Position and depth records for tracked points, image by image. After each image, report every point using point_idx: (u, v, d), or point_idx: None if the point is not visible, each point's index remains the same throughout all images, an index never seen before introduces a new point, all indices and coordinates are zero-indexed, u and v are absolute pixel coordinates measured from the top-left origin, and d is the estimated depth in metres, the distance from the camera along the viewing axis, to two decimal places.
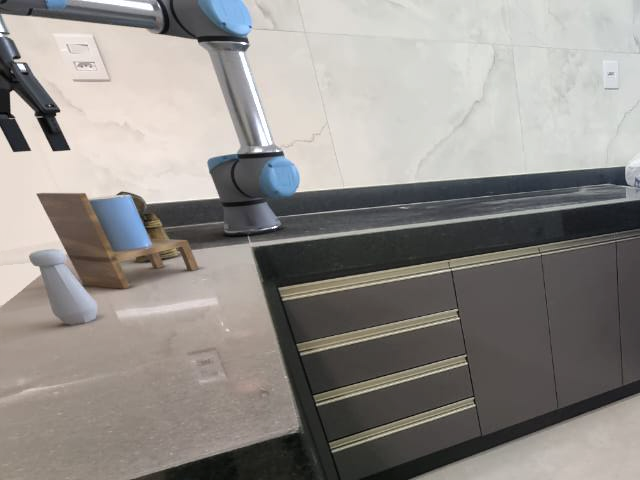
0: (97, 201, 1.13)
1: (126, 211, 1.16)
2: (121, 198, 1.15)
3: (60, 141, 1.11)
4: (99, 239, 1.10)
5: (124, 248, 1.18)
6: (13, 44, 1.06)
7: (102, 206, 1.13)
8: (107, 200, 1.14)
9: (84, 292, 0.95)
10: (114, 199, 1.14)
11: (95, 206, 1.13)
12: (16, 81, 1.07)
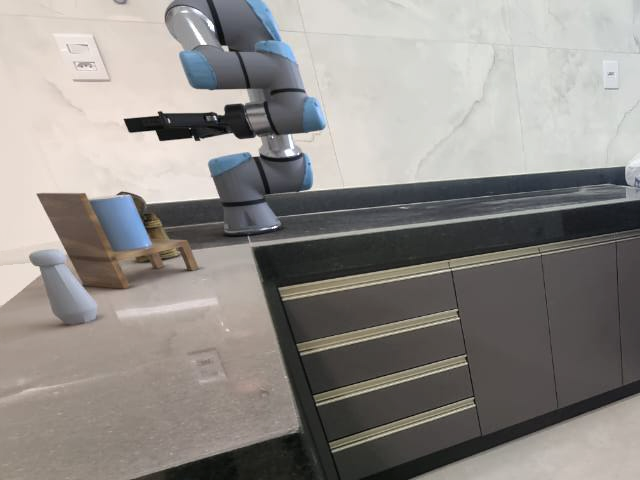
0: (97, 201, 1.13)
1: (126, 211, 1.16)
2: (121, 198, 1.15)
3: None
4: (99, 239, 1.10)
5: (124, 248, 1.18)
6: None
7: (102, 206, 1.13)
8: (107, 200, 1.14)
9: (84, 292, 0.95)
10: (114, 199, 1.14)
11: (95, 206, 1.13)
12: None
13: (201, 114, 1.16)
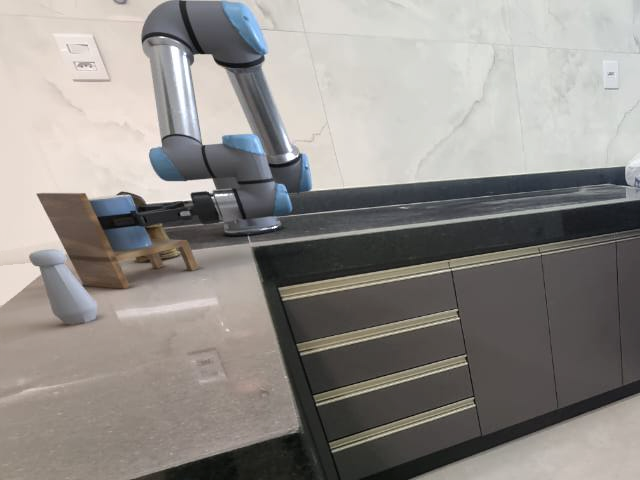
0: (97, 201, 1.13)
1: (126, 211, 1.16)
2: (121, 198, 1.15)
3: None
4: (99, 239, 1.10)
5: (124, 248, 1.18)
6: None
7: (102, 206, 1.13)
8: (107, 200, 1.14)
9: (84, 292, 0.95)
10: (114, 199, 1.14)
11: (95, 206, 1.13)
12: None
13: (175, 210, 1.18)
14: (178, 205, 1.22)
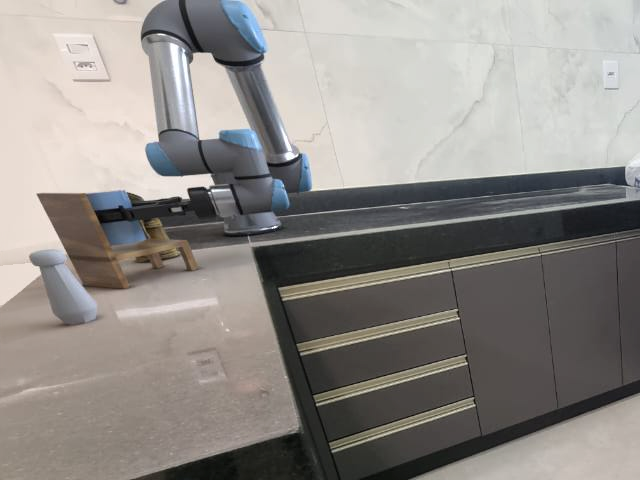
0: (91, 195, 1.12)
1: None
2: (116, 192, 1.15)
3: None
4: (99, 239, 1.10)
5: (118, 242, 1.17)
6: None
7: (96, 200, 1.13)
8: (101, 194, 1.13)
9: (84, 292, 0.95)
10: (108, 193, 1.14)
11: (89, 200, 1.12)
12: None
13: (166, 206, 1.18)
14: (173, 200, 1.21)
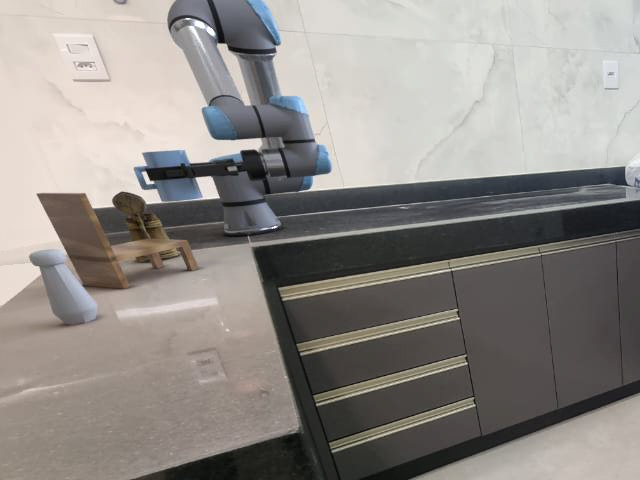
0: (156, 153, 1.21)
1: None
2: (177, 151, 1.24)
3: None
4: (99, 239, 1.10)
5: (179, 198, 1.25)
6: None
7: (161, 158, 1.22)
8: (165, 152, 1.22)
9: (84, 292, 0.95)
10: (171, 151, 1.23)
11: (154, 158, 1.21)
12: None
13: (223, 165, 1.26)
14: (228, 161, 1.30)
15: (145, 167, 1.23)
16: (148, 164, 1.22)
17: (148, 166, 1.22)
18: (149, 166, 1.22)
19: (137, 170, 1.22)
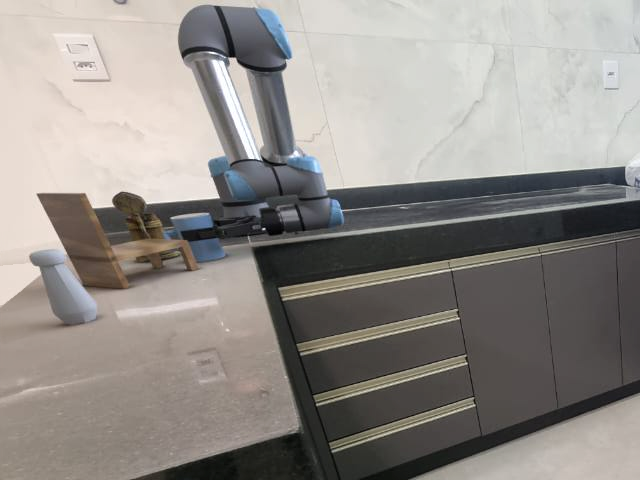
0: (184, 219, 1.30)
1: (207, 227, 1.34)
2: (203, 216, 1.33)
3: None
4: (99, 239, 1.10)
5: (205, 259, 1.35)
6: None
7: (188, 224, 1.31)
8: (192, 218, 1.31)
9: (84, 292, 0.95)
10: (198, 217, 1.32)
11: (182, 224, 1.31)
12: None
13: (249, 224, 1.36)
14: (249, 219, 1.40)
15: (173, 231, 1.32)
16: (176, 229, 1.32)
17: (176, 230, 1.32)
18: (177, 231, 1.32)
19: (166, 234, 1.32)
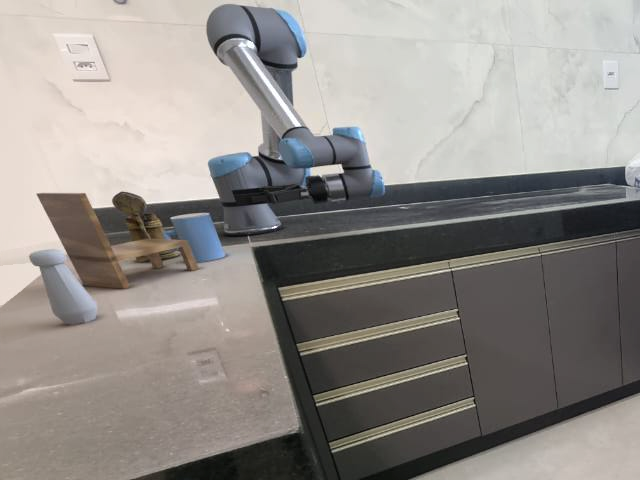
0: (184, 219, 1.30)
1: (207, 227, 1.34)
2: (203, 216, 1.33)
3: None
4: (99, 239, 1.10)
5: (205, 259, 1.35)
6: None
7: (188, 224, 1.31)
8: (192, 218, 1.31)
9: (84, 292, 0.95)
10: (198, 217, 1.32)
11: (182, 224, 1.31)
12: None
13: (298, 191, 1.40)
14: (297, 187, 1.44)
15: (173, 231, 1.32)
16: (176, 229, 1.32)
17: (176, 230, 1.32)
18: (177, 231, 1.32)
19: (166, 234, 1.32)
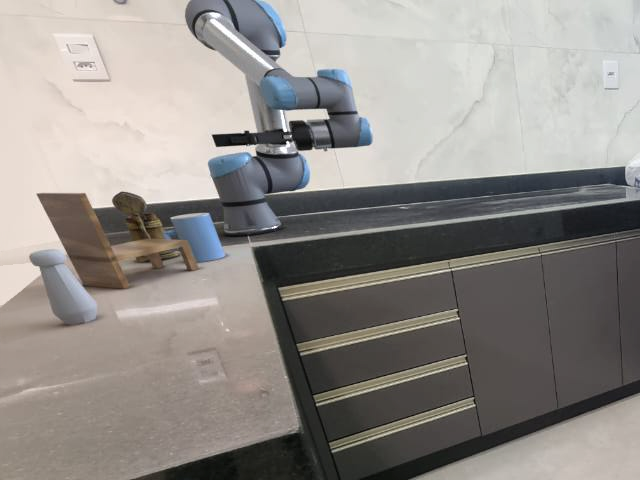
0: (184, 219, 1.30)
1: (207, 227, 1.34)
2: (203, 216, 1.33)
3: None
4: (99, 239, 1.10)
5: (205, 259, 1.35)
6: None
7: (188, 224, 1.31)
8: (192, 218, 1.31)
9: (84, 292, 0.95)
10: (198, 217, 1.32)
11: (182, 224, 1.31)
12: None
13: (280, 133, 1.34)
14: (280, 130, 1.37)
15: (173, 231, 1.32)
16: (176, 229, 1.32)
17: (176, 230, 1.32)
18: (177, 231, 1.32)
19: (166, 234, 1.32)
